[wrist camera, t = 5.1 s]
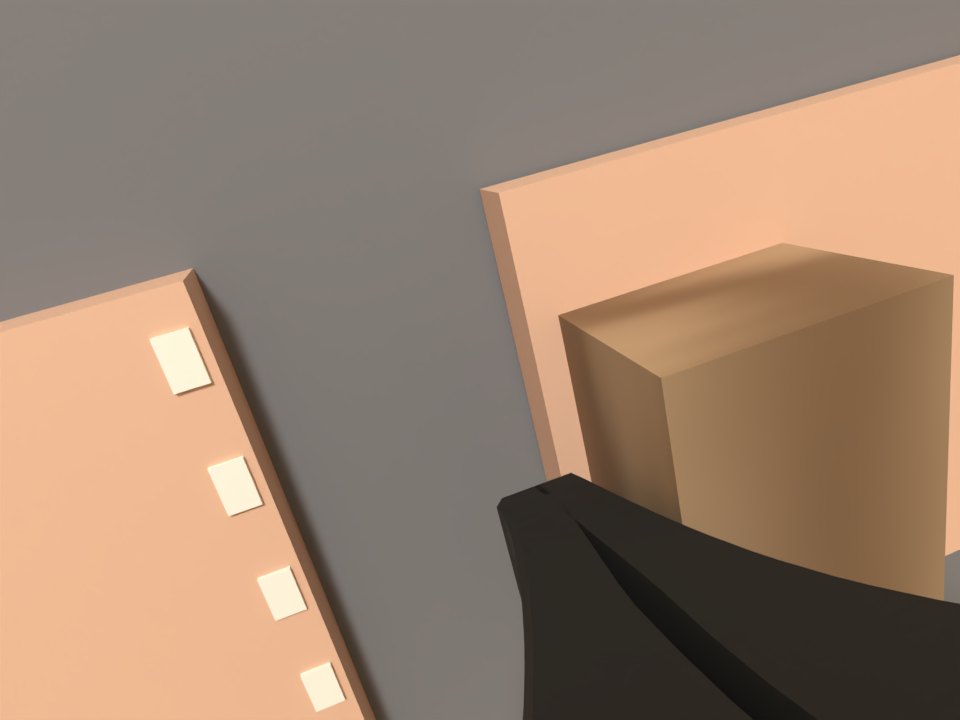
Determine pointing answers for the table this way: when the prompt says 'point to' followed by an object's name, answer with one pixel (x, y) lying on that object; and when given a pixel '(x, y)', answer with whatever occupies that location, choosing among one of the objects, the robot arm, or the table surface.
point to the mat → (379, 242)
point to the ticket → (150, 528)
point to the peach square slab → (759, 325)
